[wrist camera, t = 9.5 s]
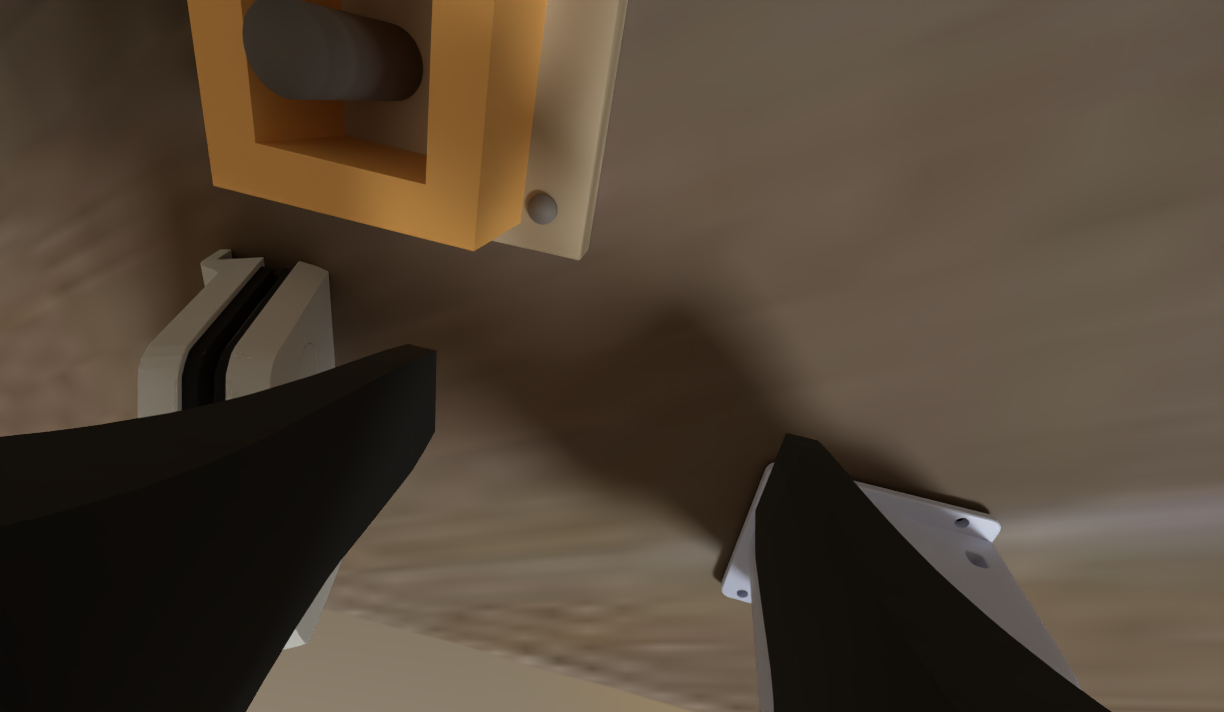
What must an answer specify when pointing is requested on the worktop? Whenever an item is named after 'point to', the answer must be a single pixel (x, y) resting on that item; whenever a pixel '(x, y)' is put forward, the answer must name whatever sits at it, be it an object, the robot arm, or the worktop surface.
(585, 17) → the keeper board
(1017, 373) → the worktop surface
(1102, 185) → the worktop surface
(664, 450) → the worktop surface
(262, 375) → the grey napkin holder
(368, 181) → the orange square frame
